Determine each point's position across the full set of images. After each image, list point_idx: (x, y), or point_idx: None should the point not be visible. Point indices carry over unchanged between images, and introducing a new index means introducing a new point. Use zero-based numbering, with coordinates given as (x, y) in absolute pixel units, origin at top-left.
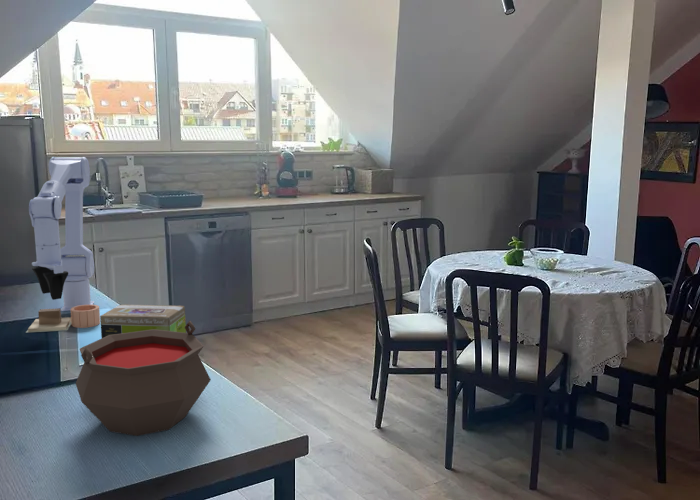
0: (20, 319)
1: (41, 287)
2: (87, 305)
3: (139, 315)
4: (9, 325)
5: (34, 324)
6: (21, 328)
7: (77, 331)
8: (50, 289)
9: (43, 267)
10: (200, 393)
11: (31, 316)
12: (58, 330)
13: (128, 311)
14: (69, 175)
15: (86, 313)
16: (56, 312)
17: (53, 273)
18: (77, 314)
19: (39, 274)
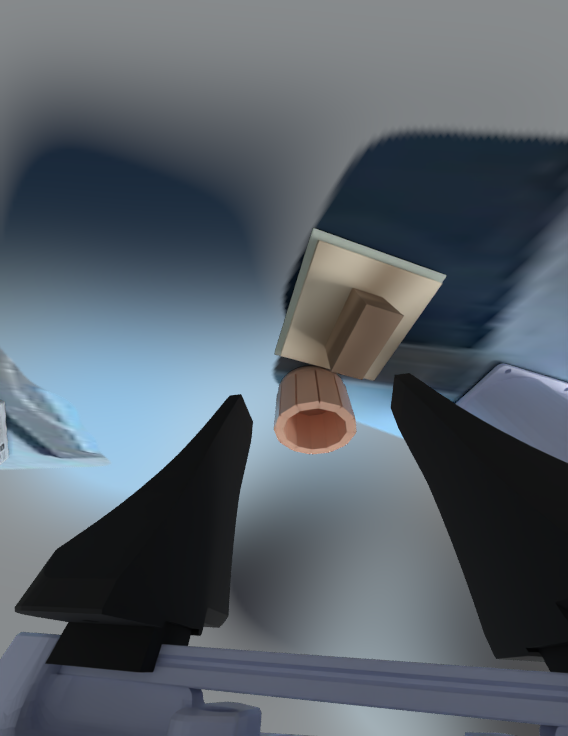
0: (562, 223)
1: (415, 396)
2: (341, 438)
3: None
4: (513, 159)
5: (366, 271)
6: (416, 216)
7: (273, 370)
8: (193, 439)
9: (552, 636)
10: None
11: (558, 272)
12: (282, 333)
13: None
14: None
15: (274, 422)
16: (332, 361)
17: (75, 622)
18: (284, 404)
19: (499, 501)
